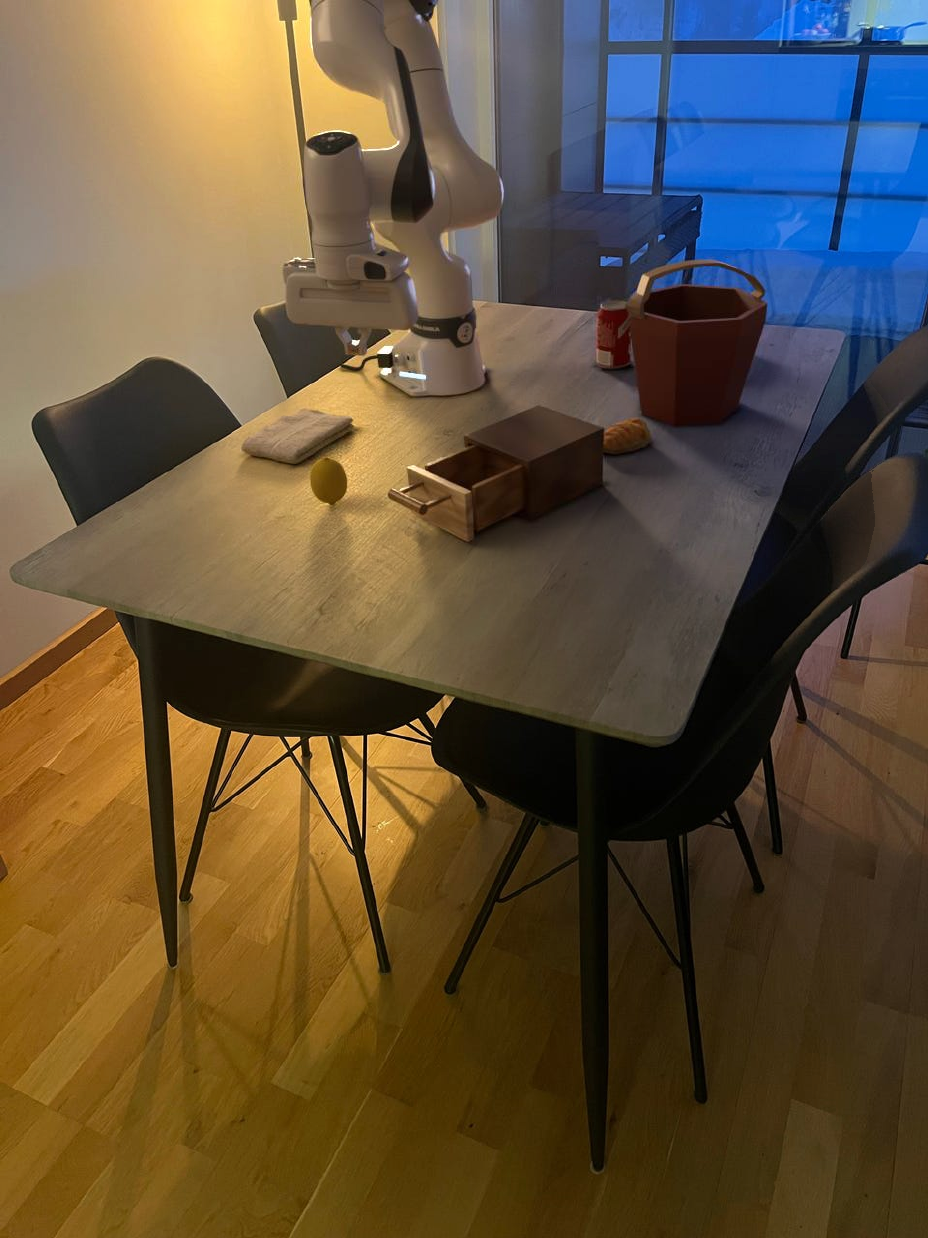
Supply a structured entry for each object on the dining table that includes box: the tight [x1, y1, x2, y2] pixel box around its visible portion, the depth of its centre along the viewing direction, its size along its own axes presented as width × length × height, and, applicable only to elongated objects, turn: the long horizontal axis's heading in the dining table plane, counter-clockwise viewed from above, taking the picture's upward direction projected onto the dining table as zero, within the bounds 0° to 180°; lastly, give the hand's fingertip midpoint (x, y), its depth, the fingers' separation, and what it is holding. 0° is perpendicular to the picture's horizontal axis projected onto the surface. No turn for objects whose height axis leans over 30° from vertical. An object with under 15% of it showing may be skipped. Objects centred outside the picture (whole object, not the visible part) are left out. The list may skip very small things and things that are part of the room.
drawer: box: [387, 445, 526, 543], centre depth 135 cm, size 20×13×7 cm, turn 131°
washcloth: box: [241, 408, 355, 465], centre depth 165 cm, size 12×18×3 cm, turn 150°
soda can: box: [595, 300, 632, 370], centre depth 185 cm, size 7×7×12 cm
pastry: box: [603, 417, 653, 455], centre depth 155 cm, size 9×7×4 cm
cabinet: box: [463, 404, 605, 521], centre depth 143 cm, size 16×14×9 cm
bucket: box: [625, 259, 769, 427], centre depth 162 cm, size 24×22×25 cm
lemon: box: [309, 456, 348, 506], centre depth 143 cm, size 6×6×8 cm
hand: (356, 354), depth 143 cm, fingers closed
